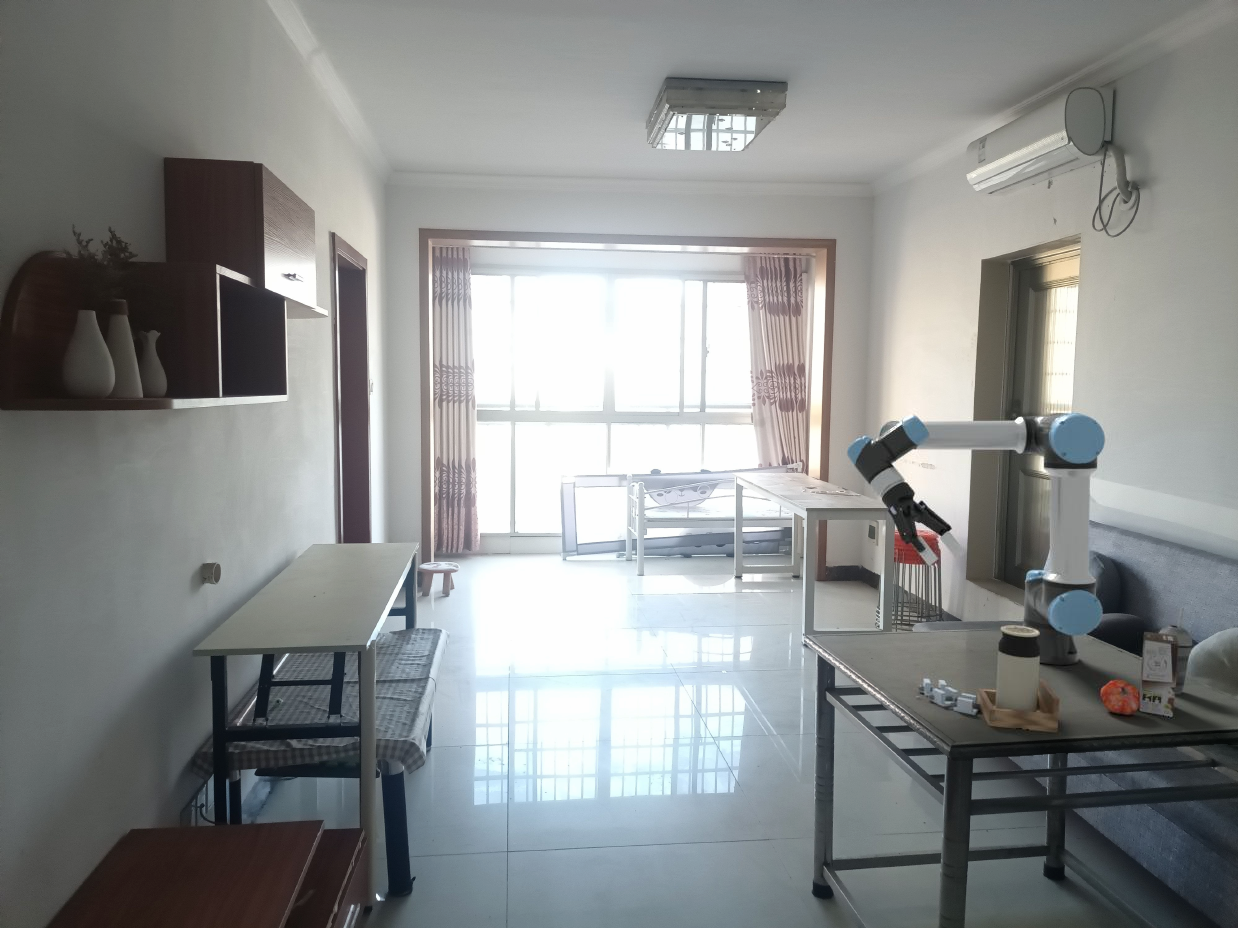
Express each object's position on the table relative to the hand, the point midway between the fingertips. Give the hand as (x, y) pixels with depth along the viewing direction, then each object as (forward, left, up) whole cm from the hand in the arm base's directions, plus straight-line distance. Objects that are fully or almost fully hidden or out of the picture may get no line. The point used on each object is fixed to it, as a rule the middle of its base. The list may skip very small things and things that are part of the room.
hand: (947, 559), depth 200 cm
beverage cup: (-52, -8, -30) cm, 61 cm away
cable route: (+1, +14, -30) cm, 33 cm away
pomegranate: (-35, +11, -30) cm, 47 cm away
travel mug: (-12, +20, -29) cm, 37 cm away
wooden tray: (-12, +21, -30) cm, 38 cm away
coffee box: (-44, +6, -30) cm, 54 cm away
